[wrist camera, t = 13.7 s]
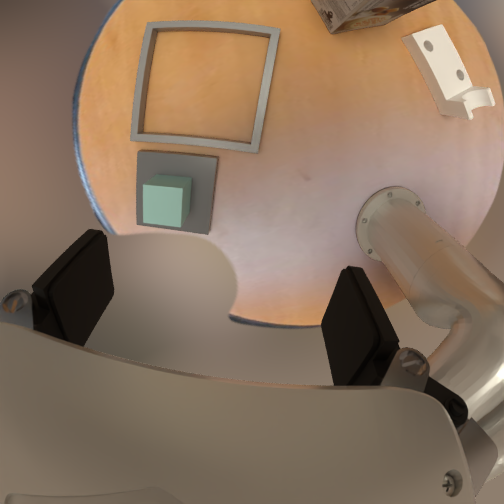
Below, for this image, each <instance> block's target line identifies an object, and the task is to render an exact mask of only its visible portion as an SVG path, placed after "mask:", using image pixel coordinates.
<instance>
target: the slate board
mask: <svg viewBox="0 0 504 504" xmlns="http://www.w3.org/2000/svg"><path fill="white" fill-rule="evenodd" d="M217 164H218V157H217V156H209V155H200V154H191V153H181V152H169V151H156V150H140V151H138V153H137V182H136V215H137V225H142V226H150V227H157V228H164V229H171V230H179V231H186V232H193V233H200V234H207V235H208V234H209V231H210V224H211V214H212V205H213V196H214V188H215V180H216V172H217ZM156 174H158V175H170V176H181V177H190V178H192V184H191V197H190V212H189V214H188V216H187V217H186V219H185V221H184V223H183V224H182V226H181V227H174V226H166V225H158V224H150V223H143V184H145V183H146V182H147V181H148V180H150V179H151V178H152V177H154V176H155V175H156Z"/></svg>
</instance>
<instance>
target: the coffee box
mask: <svg viewBox="0 0 504 504" xmlns="http://www.w3.org/2000/svg"><path fill="white" fill-rule="evenodd" d="M434 1H436V0H311V2H312V3H313V5H314V6H315V8H316V10H317V11H318V13H319V15H320V16H321V18H322V20H323V21H324V23H325V25H326V26H327V28H328V30H329V32H330V33H331V34H336V33H341V32H345V31H350V30H356V29H361V28H367V27H373V26H380V25H385V24H387V23H389V22H391V21H393V20H395V19H397V18H398V17H401V16H403V15H405V14H407V13H409V12H411V11H413V10H415V9H417V8H420V7H422V6H424V5H427V4H429V3H431V2H434Z"/></svg>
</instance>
